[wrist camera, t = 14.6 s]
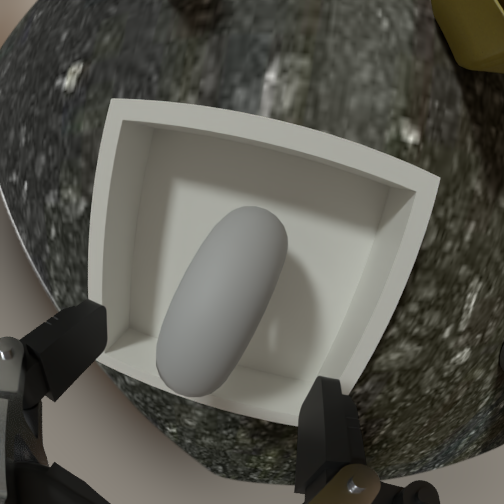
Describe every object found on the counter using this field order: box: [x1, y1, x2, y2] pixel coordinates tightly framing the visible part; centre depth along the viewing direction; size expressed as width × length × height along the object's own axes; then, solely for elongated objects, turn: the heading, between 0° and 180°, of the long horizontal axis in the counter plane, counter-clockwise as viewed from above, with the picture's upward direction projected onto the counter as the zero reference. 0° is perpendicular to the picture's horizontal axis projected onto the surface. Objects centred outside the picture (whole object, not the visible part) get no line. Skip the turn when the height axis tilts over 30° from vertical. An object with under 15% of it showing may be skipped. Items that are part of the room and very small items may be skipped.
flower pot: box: [431, 0, 504, 74], centre depth 8 cm, size 9×9×9 cm
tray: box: [88, 99, 440, 426], centre depth 17 cm, size 18×18×5 cm
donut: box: [156, 206, 288, 397], centre depth 14 cm, size 10×3×10 cm, turn 155°
